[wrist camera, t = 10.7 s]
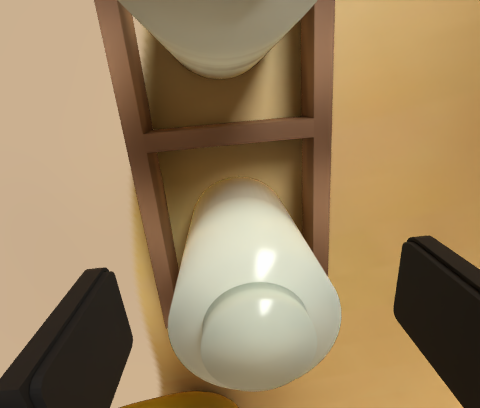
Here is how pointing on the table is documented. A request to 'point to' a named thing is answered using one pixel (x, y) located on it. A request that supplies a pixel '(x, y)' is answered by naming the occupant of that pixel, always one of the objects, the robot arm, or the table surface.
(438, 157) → the table surface
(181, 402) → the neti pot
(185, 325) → the celadon canister
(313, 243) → the walnut tray
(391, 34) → the table surface
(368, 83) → the table surface
